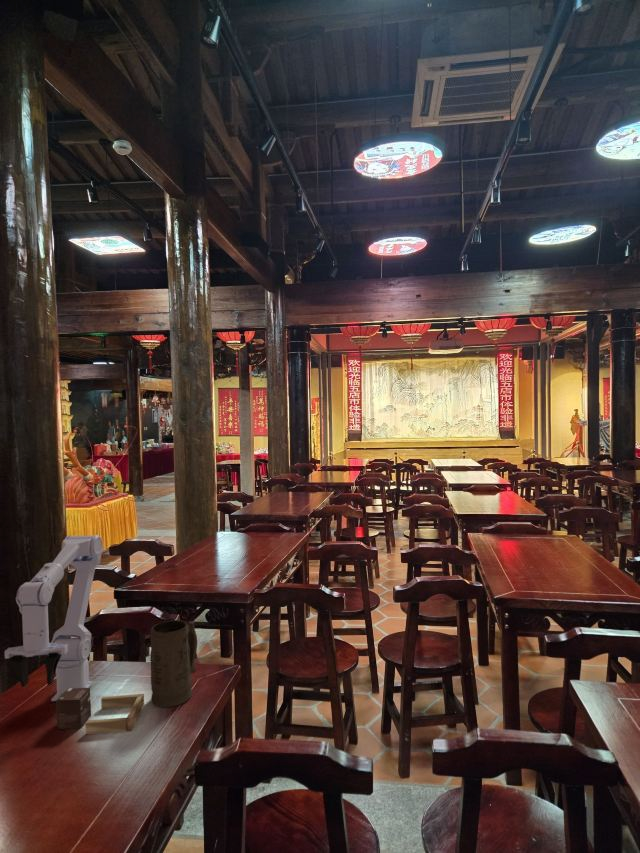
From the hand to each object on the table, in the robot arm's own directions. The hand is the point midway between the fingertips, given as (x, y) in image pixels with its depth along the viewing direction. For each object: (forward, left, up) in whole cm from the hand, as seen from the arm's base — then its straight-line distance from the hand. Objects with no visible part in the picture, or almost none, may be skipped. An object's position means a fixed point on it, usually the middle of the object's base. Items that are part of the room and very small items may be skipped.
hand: (37, 683), depth 132 cm
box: (0, +9, -11) cm, 14 cm away
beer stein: (-11, +32, -11) cm, 35 cm away
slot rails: (0, +19, -10) cm, 21 cm away
